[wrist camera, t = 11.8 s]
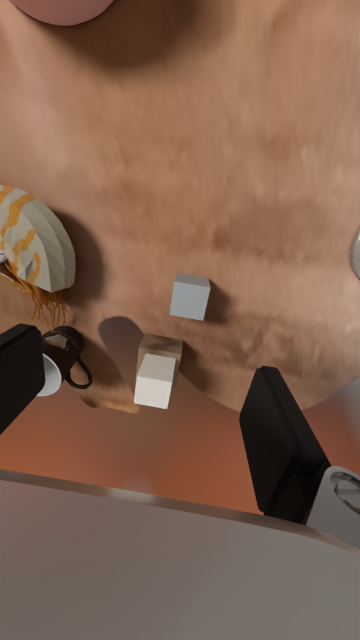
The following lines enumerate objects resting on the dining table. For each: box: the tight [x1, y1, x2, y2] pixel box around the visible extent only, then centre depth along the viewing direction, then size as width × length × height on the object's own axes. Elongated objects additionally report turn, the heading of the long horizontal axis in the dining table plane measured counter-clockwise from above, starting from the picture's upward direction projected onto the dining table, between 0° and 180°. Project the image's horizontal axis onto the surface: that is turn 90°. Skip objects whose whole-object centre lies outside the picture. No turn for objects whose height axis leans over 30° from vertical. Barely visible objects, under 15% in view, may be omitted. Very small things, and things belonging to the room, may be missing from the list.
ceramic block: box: [134, 353, 176, 409], centre depth 35 cm, size 5×5×6 cm
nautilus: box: [0, 185, 76, 333], centre depth 34 cm, size 8×22×15 cm
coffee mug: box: [36, 326, 92, 396], centre depth 39 cm, size 12×9×10 cm
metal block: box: [136, 334, 183, 388], centre depth 40 cm, size 7×7×5 cm
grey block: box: [169, 273, 210, 321], centre depth 35 cm, size 5×5×6 cm
